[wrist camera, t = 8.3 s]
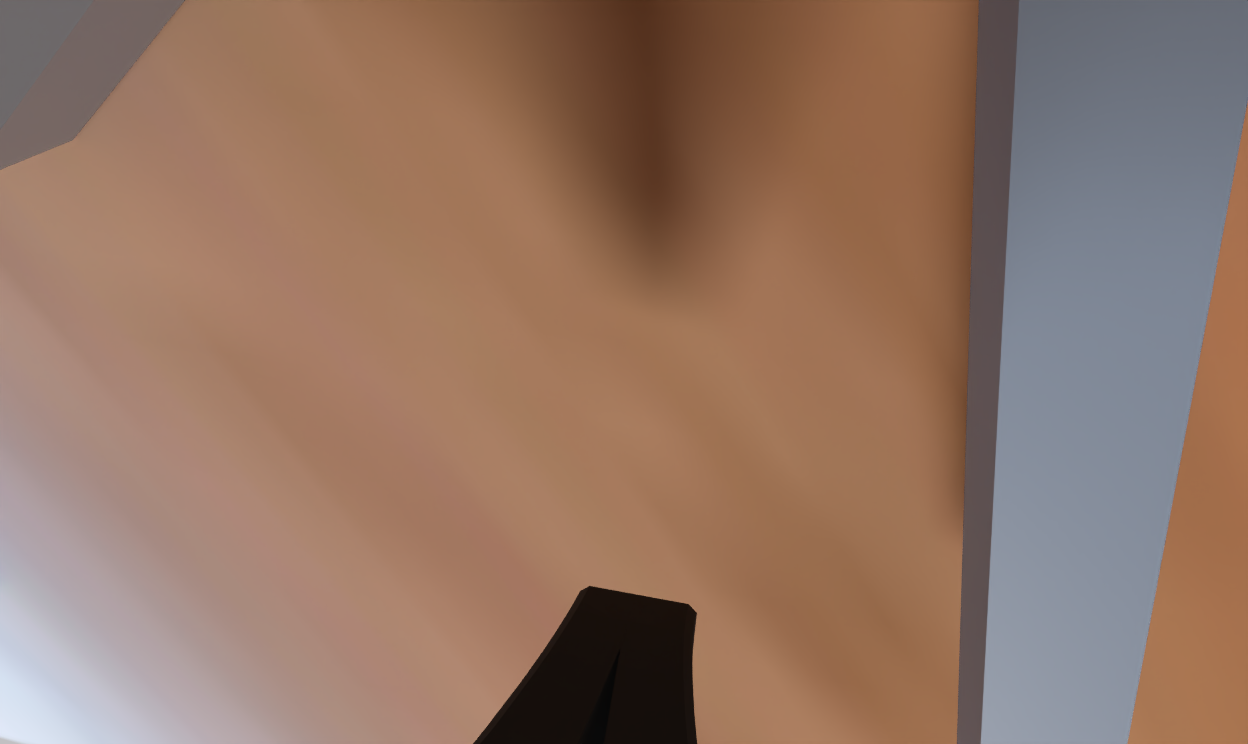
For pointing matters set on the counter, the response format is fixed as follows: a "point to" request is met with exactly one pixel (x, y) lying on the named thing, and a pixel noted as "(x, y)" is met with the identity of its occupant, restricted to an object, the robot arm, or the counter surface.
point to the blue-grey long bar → (1084, 341)
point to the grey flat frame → (66, 64)
